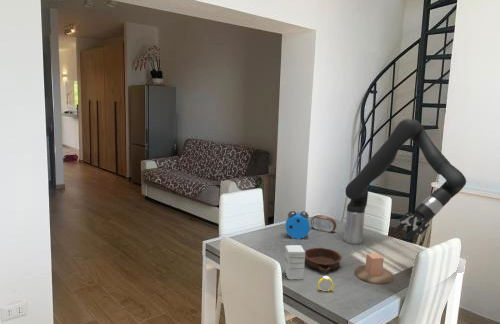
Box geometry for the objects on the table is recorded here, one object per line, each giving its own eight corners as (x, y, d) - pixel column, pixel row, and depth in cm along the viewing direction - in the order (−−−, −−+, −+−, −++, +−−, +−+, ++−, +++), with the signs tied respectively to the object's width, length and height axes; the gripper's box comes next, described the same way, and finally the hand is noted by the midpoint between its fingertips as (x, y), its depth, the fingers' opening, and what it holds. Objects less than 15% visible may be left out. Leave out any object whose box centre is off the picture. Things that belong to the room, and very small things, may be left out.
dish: (303, 274, 166) (304, 263, 165) (302, 254, 188) (302, 244, 187) (344, 277, 164) (344, 266, 163) (338, 256, 186) (338, 247, 185)
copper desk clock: (336, 232, 219) (337, 218, 218) (334, 234, 217) (335, 220, 215) (311, 227, 227) (312, 214, 226) (309, 228, 225) (310, 215, 223)
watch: (331, 290, 153) (333, 276, 152) (333, 293, 150) (335, 279, 149) (316, 288, 153) (318, 274, 152) (317, 292, 150) (319, 278, 149)
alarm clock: (308, 236, 213) (309, 210, 210) (309, 240, 206) (310, 213, 204) (285, 234, 213) (286, 209, 211) (285, 238, 207) (286, 212, 205)
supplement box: (283, 272, 167) (285, 245, 165) (300, 272, 168) (301, 244, 165) (286, 280, 160) (288, 251, 158) (304, 279, 160) (305, 251, 158)
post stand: (350, 277, 163) (351, 262, 162) (360, 264, 177) (361, 250, 176) (388, 287, 155) (390, 271, 154) (396, 273, 169) (397, 258, 168)
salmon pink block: (370, 276, 163) (372, 258, 162) (365, 270, 168) (366, 253, 167) (382, 275, 164) (383, 258, 163) (376, 270, 169) (377, 253, 168)
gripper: (414, 198, 172) (388, 223, 172) (433, 207, 158) (405, 234, 158) (423, 209, 173) (398, 234, 173) (444, 219, 159) (416, 246, 159)
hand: (401, 234), depth 166 cm, fingers open, 8 cm apart
